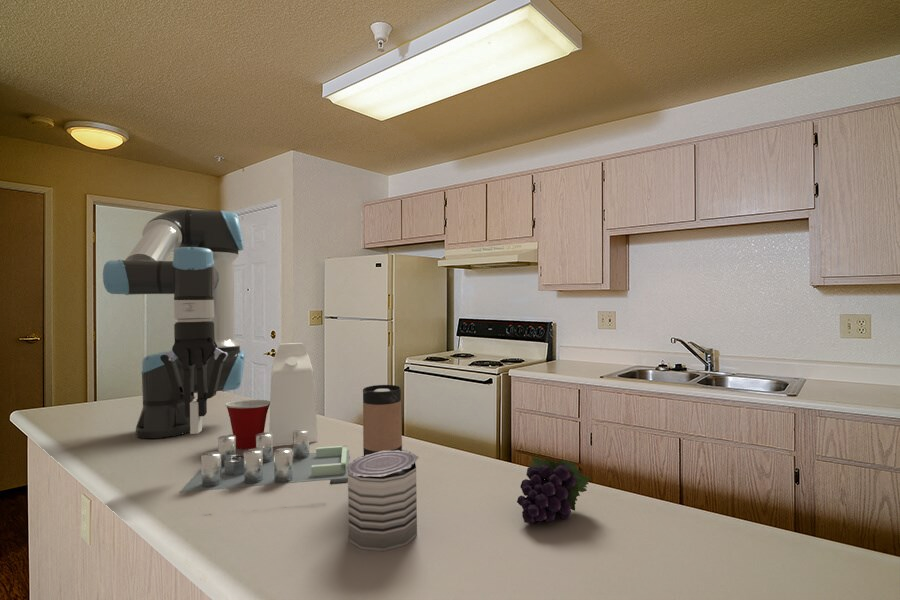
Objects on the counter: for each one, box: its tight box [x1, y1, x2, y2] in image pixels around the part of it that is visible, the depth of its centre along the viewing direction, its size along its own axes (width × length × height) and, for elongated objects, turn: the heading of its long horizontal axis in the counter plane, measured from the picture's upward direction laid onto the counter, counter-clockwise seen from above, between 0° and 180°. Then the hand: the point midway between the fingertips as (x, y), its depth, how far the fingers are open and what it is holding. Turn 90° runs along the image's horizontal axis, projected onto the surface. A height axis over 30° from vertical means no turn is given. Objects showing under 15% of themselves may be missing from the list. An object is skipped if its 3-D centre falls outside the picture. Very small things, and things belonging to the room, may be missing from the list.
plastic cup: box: [224, 399, 270, 451], centre depth 121 cm, size 11×11×12 cm
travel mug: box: [362, 384, 403, 456], centre depth 95 cm, size 8×8×20 cm
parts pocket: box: [311, 445, 348, 477], centre depth 107 cm, size 13×7×2 cm, turn 11°
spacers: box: [200, 429, 310, 487], centre depth 104 cm, size 18×20×6 cm
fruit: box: [516, 456, 591, 525], centre depth 82 cm, size 10×10×15 cm
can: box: [345, 449, 420, 552], centre depth 77 cm, size 11×11×12 cm
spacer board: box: [179, 449, 350, 493], centre depth 104 cm, size 18×32×1 cm, turn 101°
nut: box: [224, 453, 244, 476], centre depth 103 cm, size 5×4×3 cm
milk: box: [268, 342, 319, 447], centre depth 127 cm, size 12×12×26 cm
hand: (196, 431), depth 101 cm, fingers closed
